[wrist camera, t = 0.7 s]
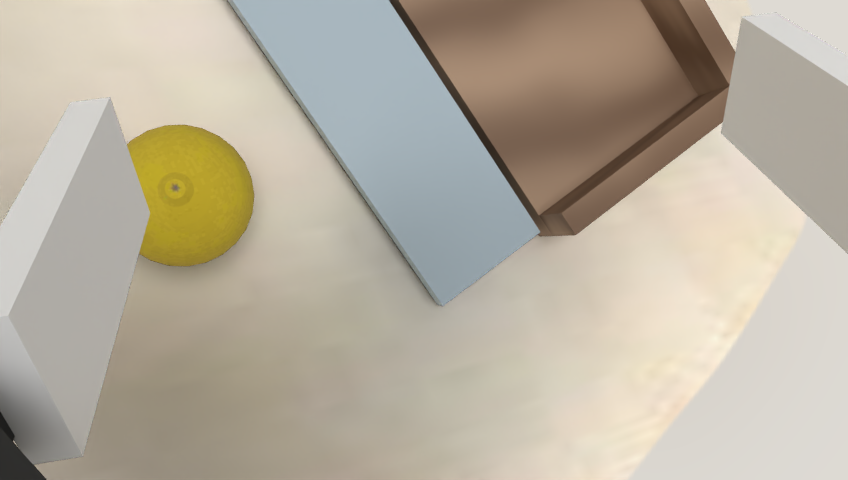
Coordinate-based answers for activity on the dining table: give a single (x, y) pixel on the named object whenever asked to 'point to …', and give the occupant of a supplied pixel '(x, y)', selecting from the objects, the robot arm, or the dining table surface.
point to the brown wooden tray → (577, 91)
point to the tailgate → (395, 134)
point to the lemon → (191, 194)
